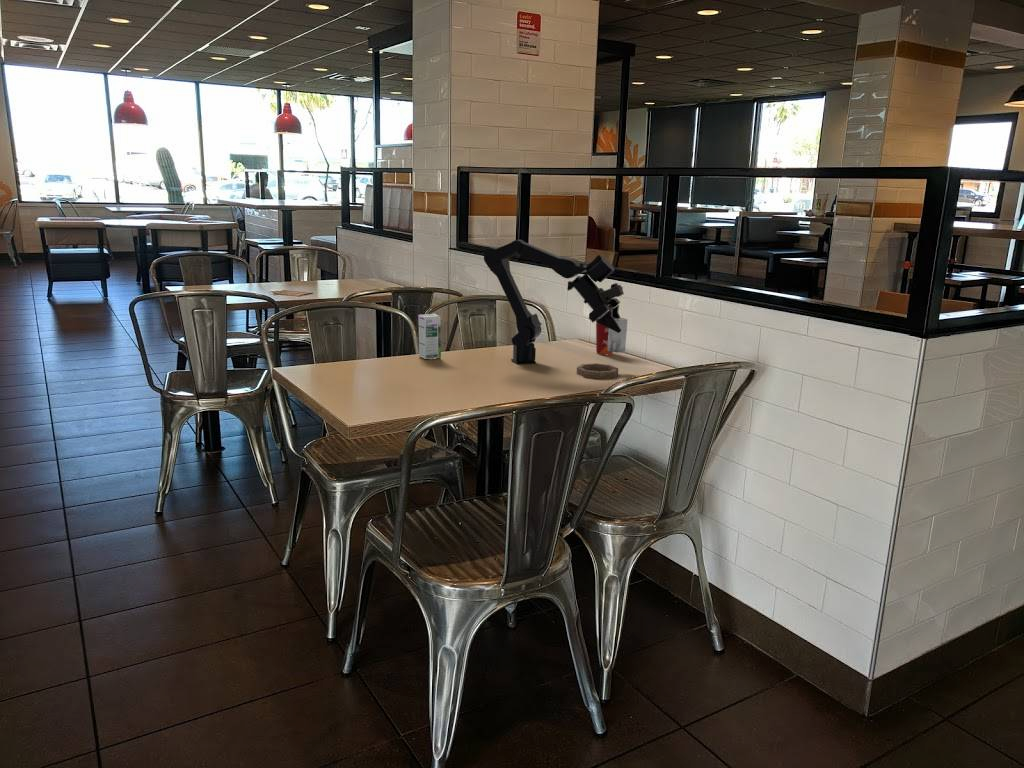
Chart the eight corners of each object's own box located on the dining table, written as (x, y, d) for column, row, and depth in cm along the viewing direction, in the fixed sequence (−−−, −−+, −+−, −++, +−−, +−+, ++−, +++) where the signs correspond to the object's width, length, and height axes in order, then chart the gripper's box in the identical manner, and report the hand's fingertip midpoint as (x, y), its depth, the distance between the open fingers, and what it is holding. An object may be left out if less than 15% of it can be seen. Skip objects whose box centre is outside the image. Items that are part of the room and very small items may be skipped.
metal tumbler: (611, 352, 237) (613, 320, 234) (604, 348, 242) (607, 317, 239) (627, 352, 238) (630, 320, 236) (621, 348, 243) (623, 317, 241)
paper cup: (608, 356, 263) (610, 316, 260) (589, 353, 268) (591, 313, 264) (619, 353, 269) (621, 313, 266) (600, 350, 274) (602, 311, 270)
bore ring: (588, 379, 230) (588, 373, 229) (571, 371, 241) (572, 364, 240) (623, 377, 234) (624, 370, 233) (605, 368, 245) (605, 362, 244)
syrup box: (425, 360, 251) (424, 316, 247) (418, 356, 256) (418, 313, 252) (441, 359, 253) (441, 315, 250) (434, 355, 258) (434, 313, 255)
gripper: (601, 278, 227) (635, 318, 226) (615, 272, 244) (647, 309, 243) (574, 302, 231) (607, 341, 231) (590, 295, 248) (621, 331, 248)
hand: (622, 330), depth 238 cm, fingers closed on metal tumbler, 5 cm apart
